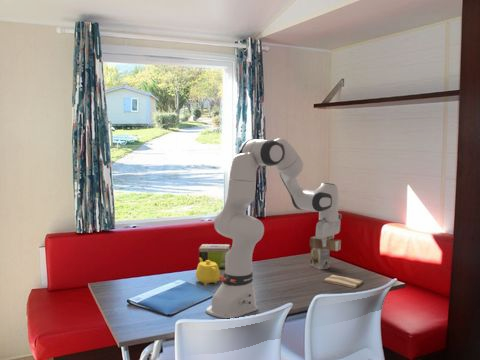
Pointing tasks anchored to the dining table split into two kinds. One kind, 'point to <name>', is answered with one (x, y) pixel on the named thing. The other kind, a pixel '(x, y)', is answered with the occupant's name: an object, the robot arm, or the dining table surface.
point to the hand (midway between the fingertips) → (327, 245)
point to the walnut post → (331, 244)
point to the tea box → (215, 254)
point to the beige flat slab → (343, 281)
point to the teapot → (207, 272)
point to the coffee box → (319, 258)
